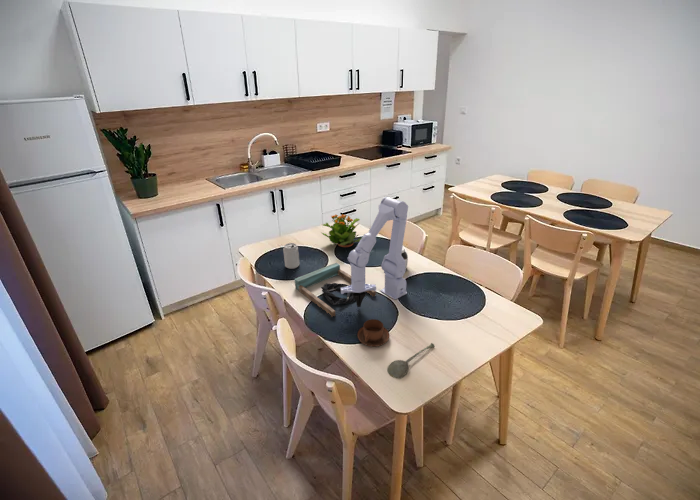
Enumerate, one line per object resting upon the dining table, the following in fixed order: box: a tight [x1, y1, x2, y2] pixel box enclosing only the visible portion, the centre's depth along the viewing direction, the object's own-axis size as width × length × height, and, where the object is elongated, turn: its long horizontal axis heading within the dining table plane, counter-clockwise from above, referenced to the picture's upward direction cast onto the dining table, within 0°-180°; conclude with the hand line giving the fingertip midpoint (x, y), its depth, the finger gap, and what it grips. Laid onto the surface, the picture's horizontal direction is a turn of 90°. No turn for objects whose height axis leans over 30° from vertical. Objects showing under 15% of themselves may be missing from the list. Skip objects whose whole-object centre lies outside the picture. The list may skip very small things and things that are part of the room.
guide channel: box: [294, 262, 377, 318], centre depth 163 cm, size 29×24×5 cm
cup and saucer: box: [356, 318, 390, 347], centre depth 133 cm, size 12×12×6 cm
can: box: [282, 242, 300, 270], centre depth 184 cm, size 8×8×12 cm
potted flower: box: [321, 214, 363, 248], centre depth 204 cm, size 25×24×18 cm
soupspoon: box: [386, 342, 435, 380], centre depth 124 cm, size 22×3×6 cm
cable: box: [320, 282, 356, 306], centre depth 161 cm, size 17×14×4 cm
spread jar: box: [387, 245, 409, 269], centre depth 178 cm, size 12×11×12 cm
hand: (358, 305), depth 151 cm, fingers closed
